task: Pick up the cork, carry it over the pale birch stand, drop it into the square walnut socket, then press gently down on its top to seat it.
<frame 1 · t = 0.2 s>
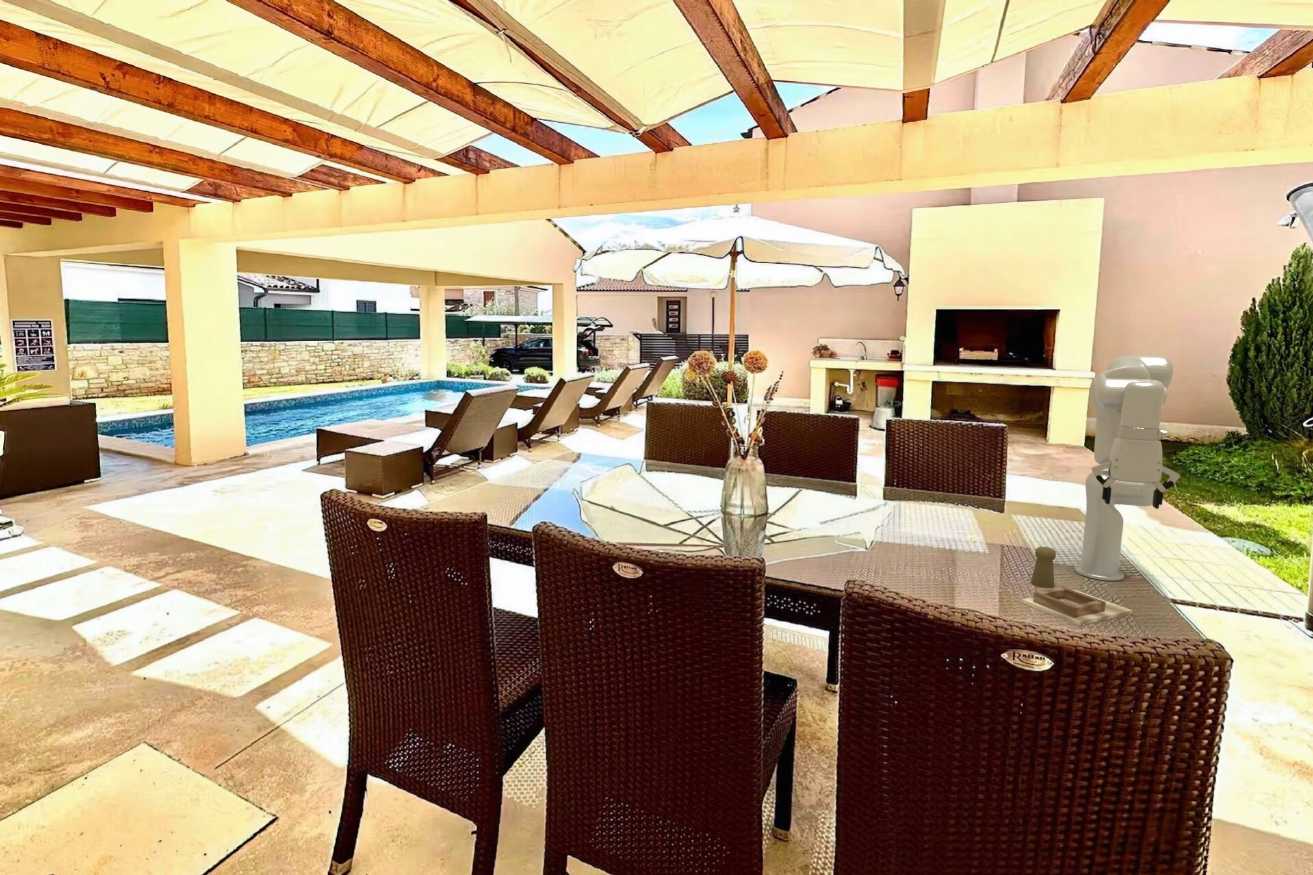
hand: (1130, 505, 163), 31 cm above the table, tool pointing down, fingers open, 9 cm apart
socket stand: (1075, 608, 179), on the table
cork: (1042, 585, 197), on the table
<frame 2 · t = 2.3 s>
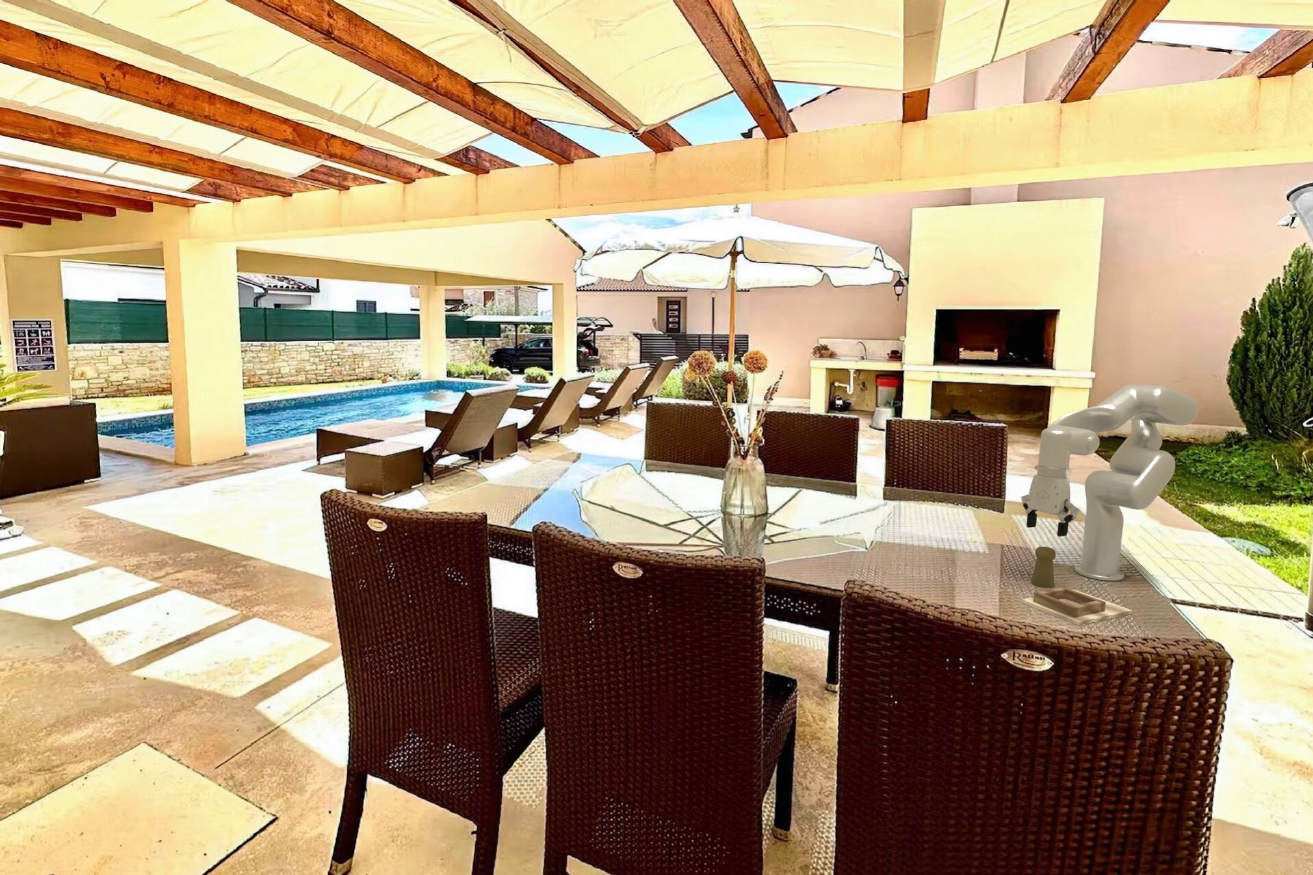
hand: (1046, 531, 194), 16 cm above the table, tool pointing down, fingers open, 9 cm apart
nothing on the table moved.
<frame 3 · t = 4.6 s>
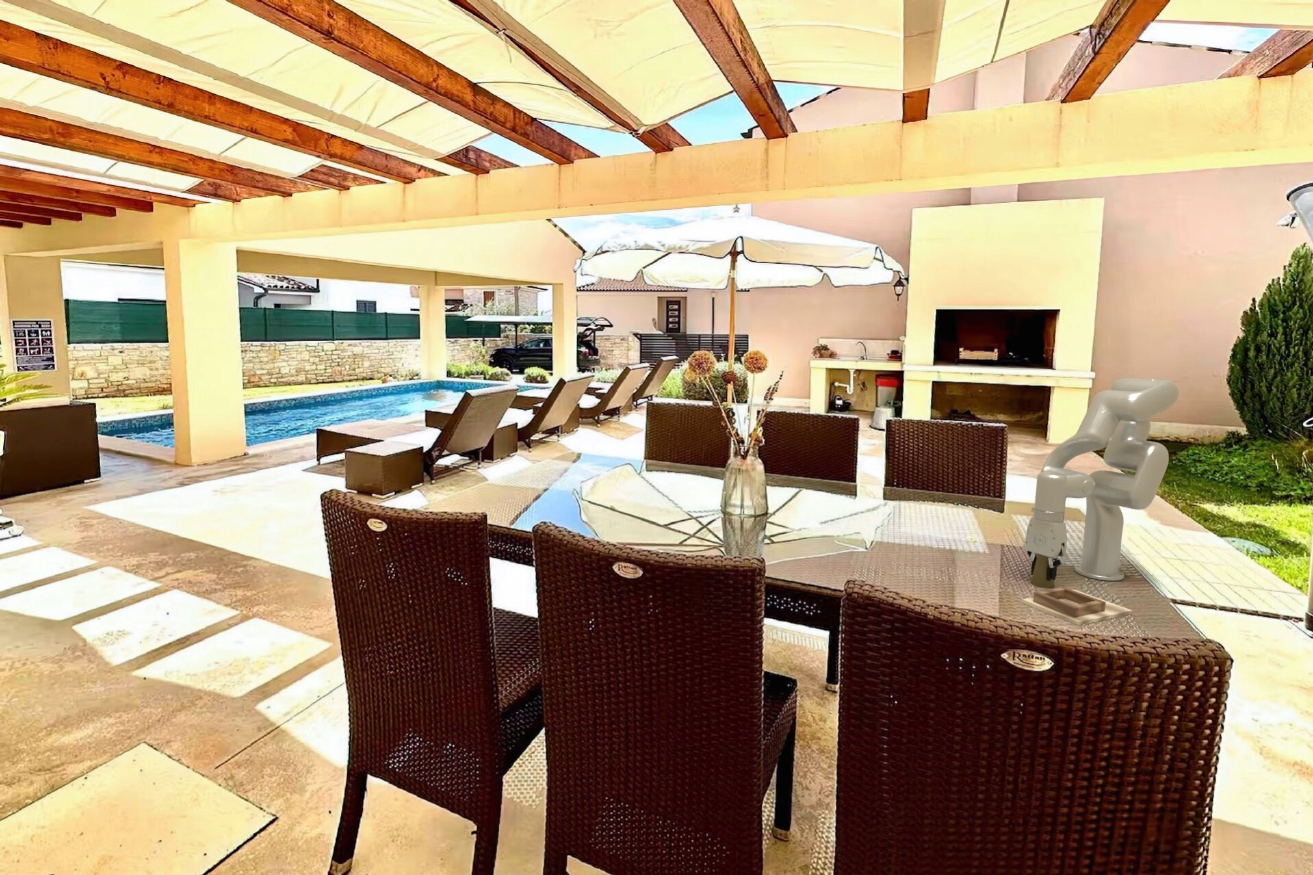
hand: (1043, 576, 196), 2 cm above the table, tool pointing down, fingers closed on cork, 4 cm apart
cork: (1042, 584, 197), on the table, touching gripper
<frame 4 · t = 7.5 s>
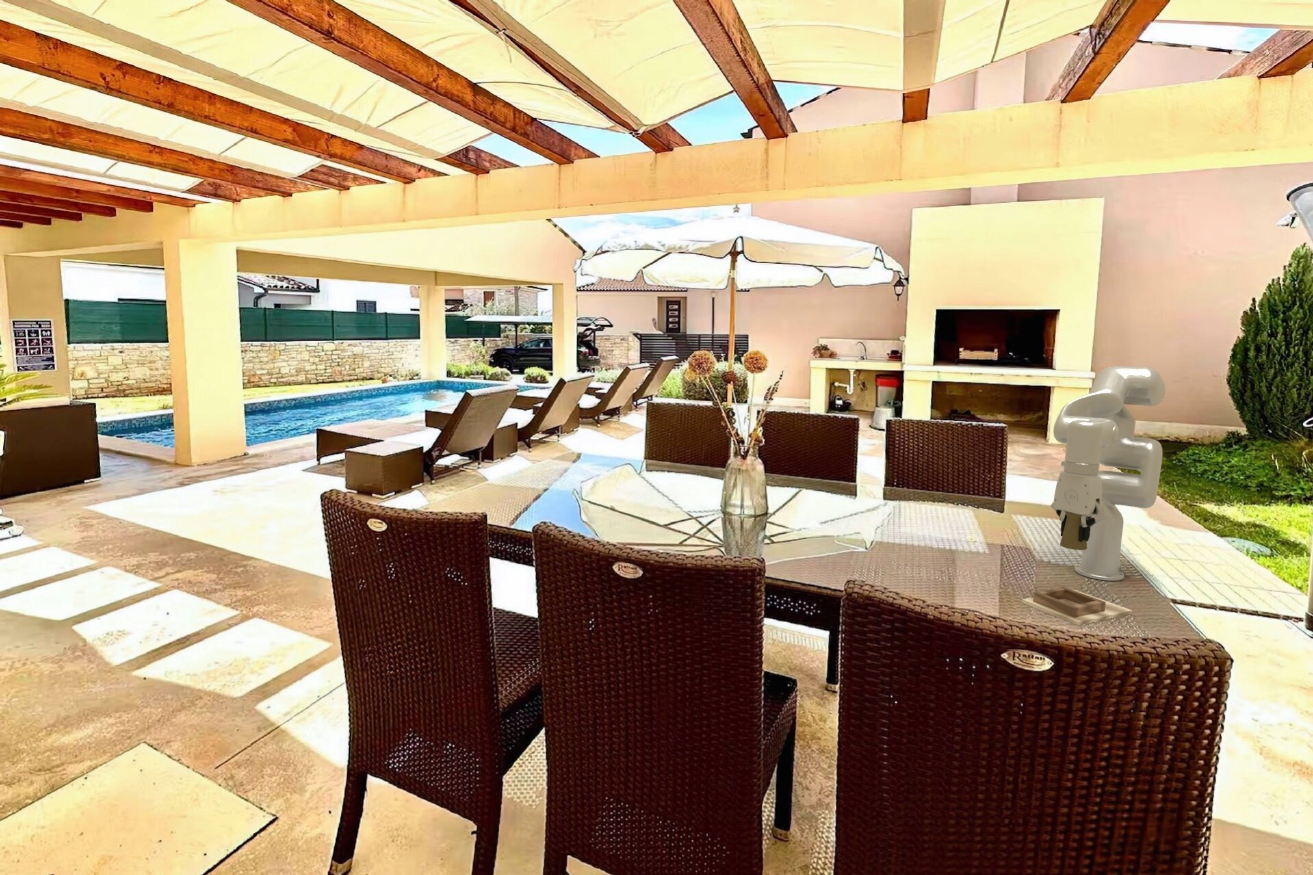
hand: (1074, 537, 176), 19 cm above the table, tool pointing down, fingers closed on cork, 4 cm apart
cork: (1073, 547, 176), point 17 cm above the table, touching gripper
when the fingers open (7 cm above the table, at t = 10.6 s): cork drops 3 cm, resting on socket stand.
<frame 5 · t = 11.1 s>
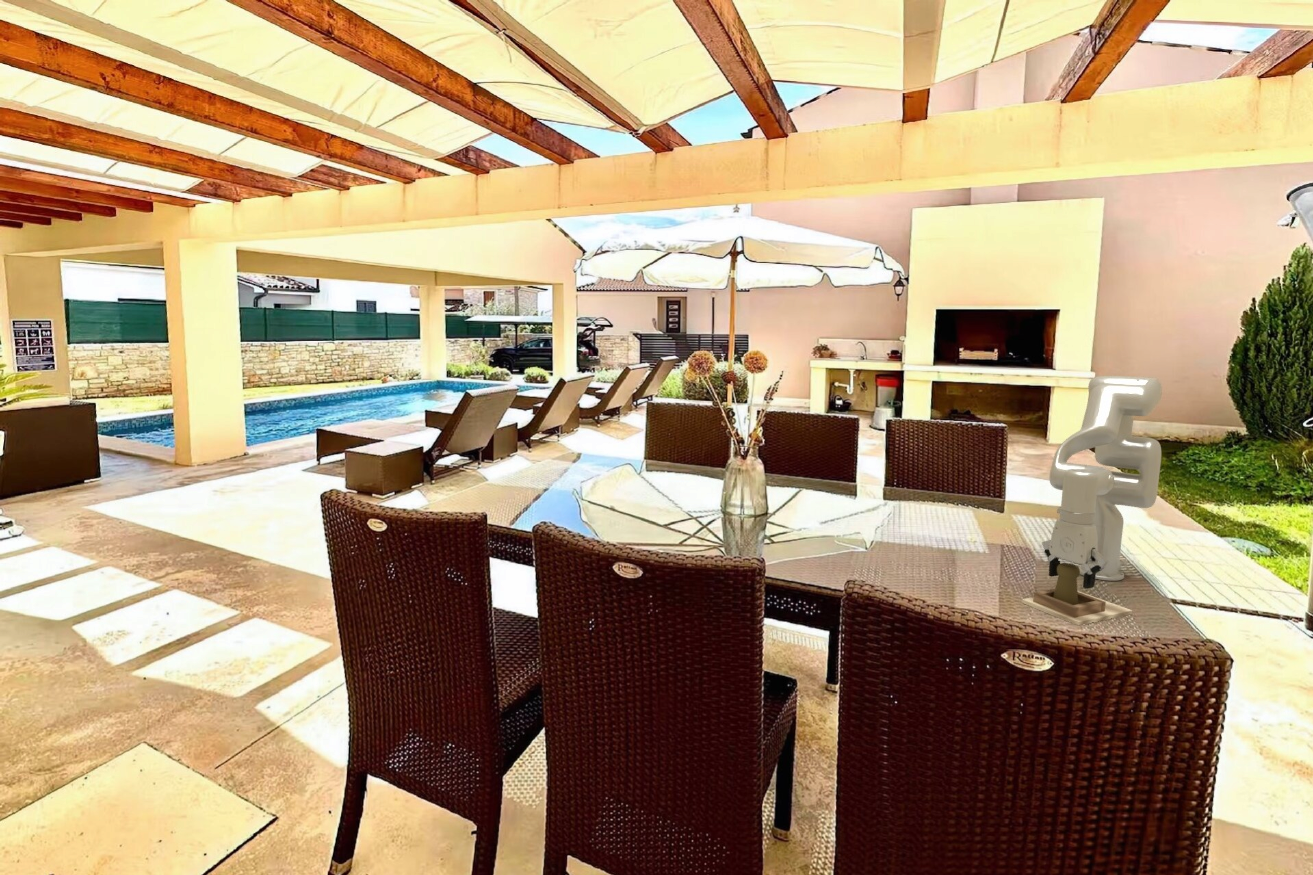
hand: (1070, 581, 177), 8 cm above the table, tool pointing down, fingers open, 9 cm apart
cork: (1064, 605, 179), point 1 cm above the table, touching socket stand
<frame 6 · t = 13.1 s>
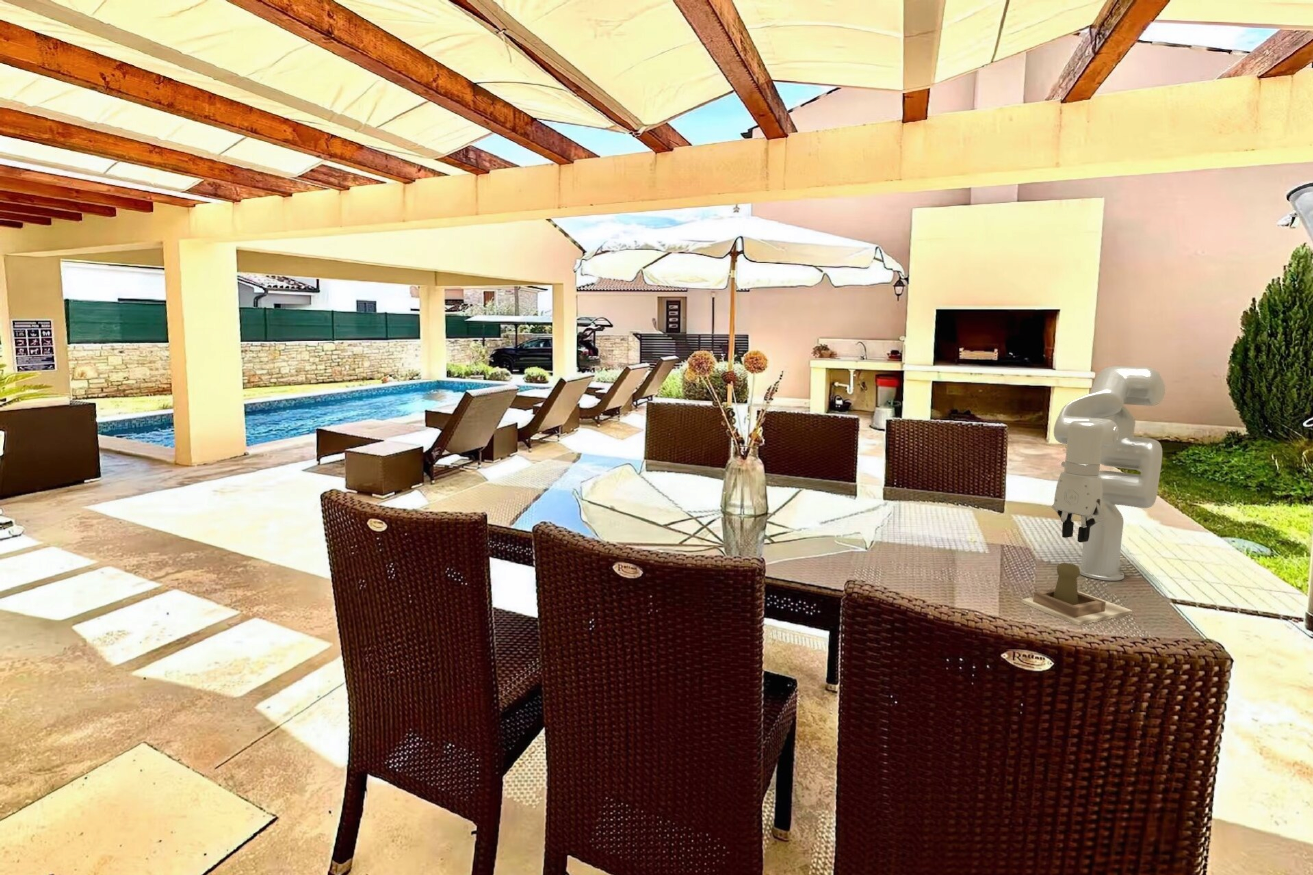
hand: (1074, 538, 175), 19 cm above the table, tool pointing down, fingers open, 3 cm apart
nothing on the table moved.
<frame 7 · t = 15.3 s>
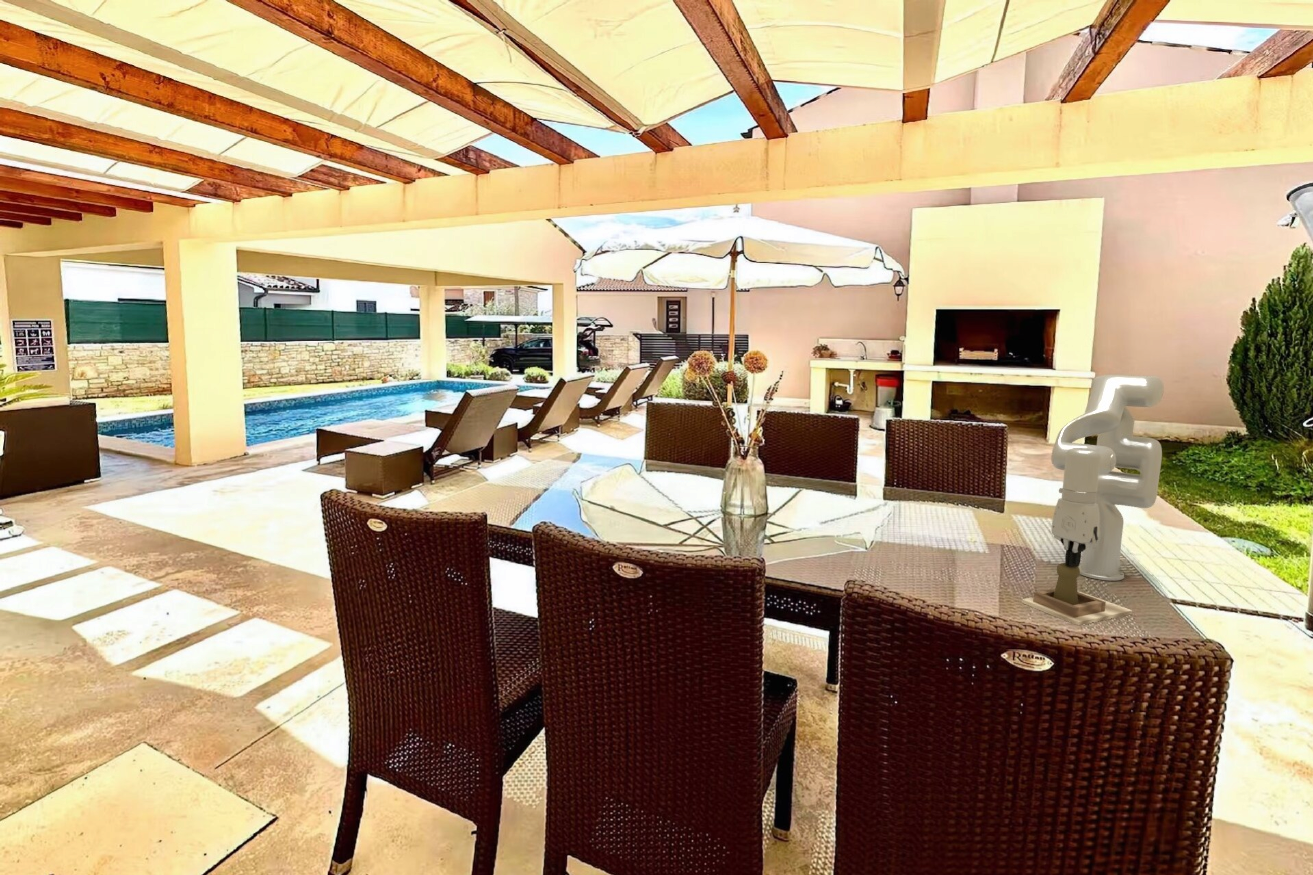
hand: (1072, 565, 176), 12 cm above the table, tool pointing down, fingers closed
cork: (1064, 605, 179), point 1 cm above the table, touching gripper, socket stand
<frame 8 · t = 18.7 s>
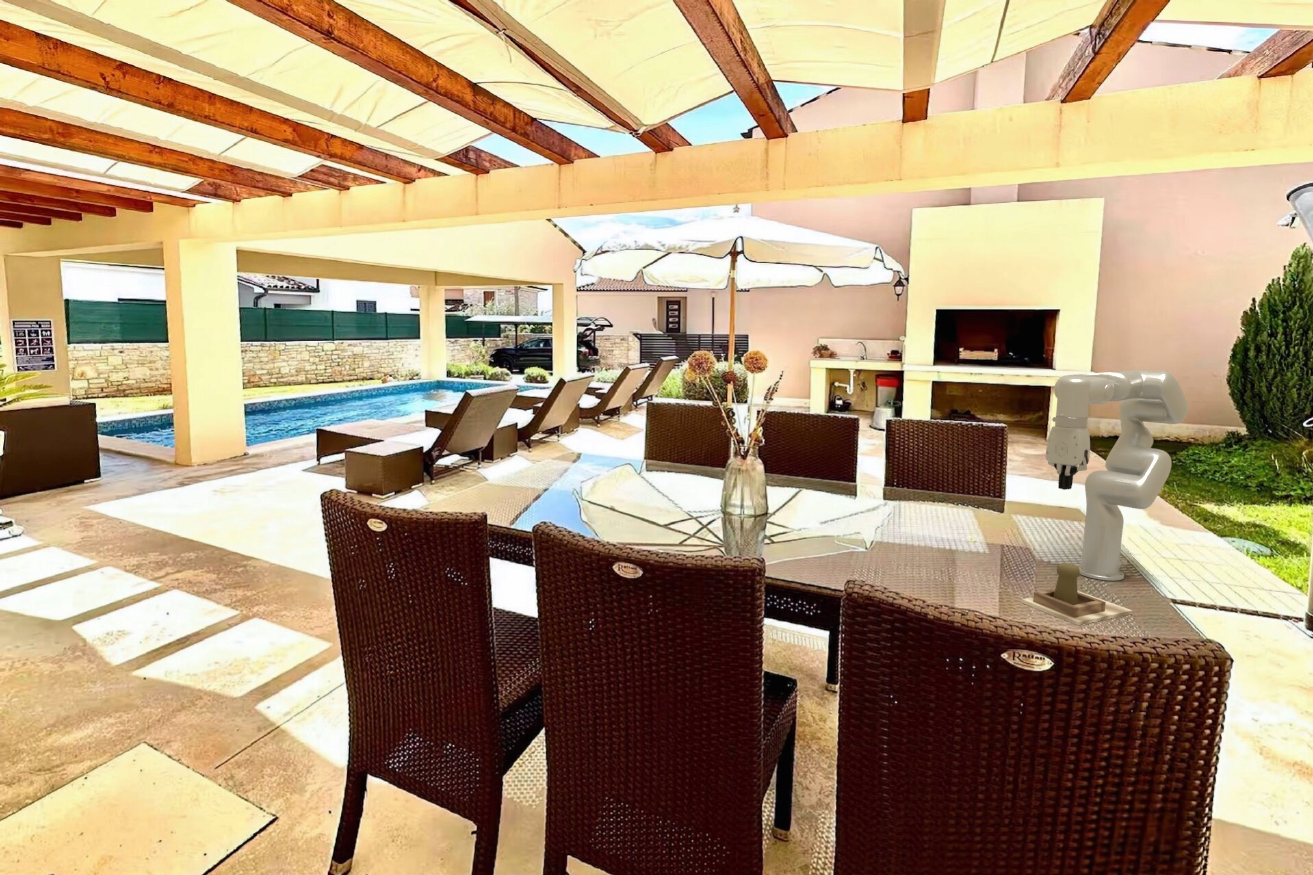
hand: (1064, 488, 189), 29 cm above the table, tool pointing down, fingers closed
cork: (1064, 605, 179), point 1 cm above the table, touching socket stand
at the end: cork 1.1 cm from the target spot on the socket stand, point 0.8 cm above the socket stand's base; cork tilted 0°; the gripper is holding nothing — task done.
